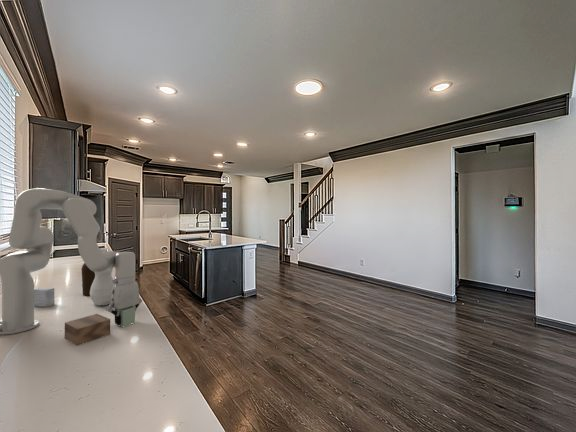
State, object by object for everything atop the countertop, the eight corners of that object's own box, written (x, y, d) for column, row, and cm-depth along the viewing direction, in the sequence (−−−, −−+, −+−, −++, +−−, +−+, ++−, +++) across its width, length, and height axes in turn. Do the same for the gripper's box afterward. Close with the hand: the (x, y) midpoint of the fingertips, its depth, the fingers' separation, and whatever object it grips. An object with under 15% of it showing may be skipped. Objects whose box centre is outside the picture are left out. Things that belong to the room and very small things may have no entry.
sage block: (122, 327, 113) (122, 310, 113) (115, 324, 116) (115, 308, 116) (134, 323, 117) (134, 307, 117) (127, 320, 120) (127, 304, 120)
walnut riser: (77, 345, 97) (77, 329, 97) (64, 338, 103) (64, 322, 103) (110, 334, 106) (110, 319, 106) (96, 327, 112) (97, 313, 112)
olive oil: (107, 292, 162) (107, 251, 162) (89, 297, 152) (89, 253, 152) (95, 290, 166) (95, 250, 166) (77, 295, 156) (77, 252, 156)
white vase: (86, 302, 144) (86, 247, 144) (111, 297, 153) (111, 246, 152) (93, 310, 133) (94, 251, 132) (120, 304, 141) (120, 248, 141)
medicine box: (54, 304, 140) (54, 287, 140) (46, 307, 136) (46, 290, 136) (41, 303, 141) (41, 287, 141) (32, 306, 137) (32, 289, 137)
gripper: (108, 286, 107) (108, 331, 107) (149, 277, 122) (148, 317, 122) (99, 283, 111) (99, 327, 111) (139, 275, 126) (139, 314, 126)
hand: (125, 321), depth 117 cm, fingers closed on sage block, 5 cm apart
